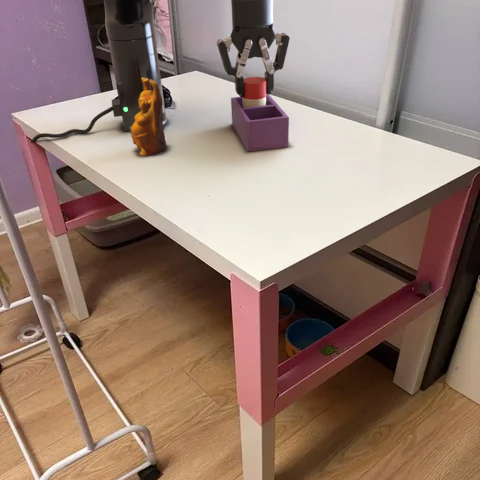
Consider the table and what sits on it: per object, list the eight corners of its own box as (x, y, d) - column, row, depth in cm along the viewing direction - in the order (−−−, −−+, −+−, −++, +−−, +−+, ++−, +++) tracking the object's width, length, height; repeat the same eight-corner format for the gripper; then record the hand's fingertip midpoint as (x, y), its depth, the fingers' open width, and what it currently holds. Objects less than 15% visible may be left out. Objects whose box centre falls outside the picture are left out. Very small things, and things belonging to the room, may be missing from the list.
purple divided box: (248, 151, 97) (247, 122, 94) (232, 125, 109) (230, 97, 105) (288, 146, 98) (289, 117, 95) (268, 120, 110) (268, 93, 106)
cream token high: (245, 116, 102) (244, 101, 100) (240, 109, 105) (239, 94, 103) (268, 114, 102) (268, 98, 100) (262, 106, 106) (262, 91, 104)
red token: (245, 101, 100) (245, 84, 98) (240, 93, 104) (239, 78, 102) (269, 98, 101) (269, 82, 99) (263, 91, 104) (263, 75, 102)
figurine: (129, 151, 99) (116, 82, 91) (155, 141, 103) (146, 73, 95) (149, 160, 96) (138, 88, 88) (176, 149, 100) (168, 79, 91)
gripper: (284, -12, 95) (283, 85, 106) (209, -5, 93) (216, 93, 104) (296, -6, 89) (294, 96, 100) (216, 1, 87) (223, 104, 98)
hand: (254, 94), depth 102 cm, fingers closed on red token, 4 cm apart
